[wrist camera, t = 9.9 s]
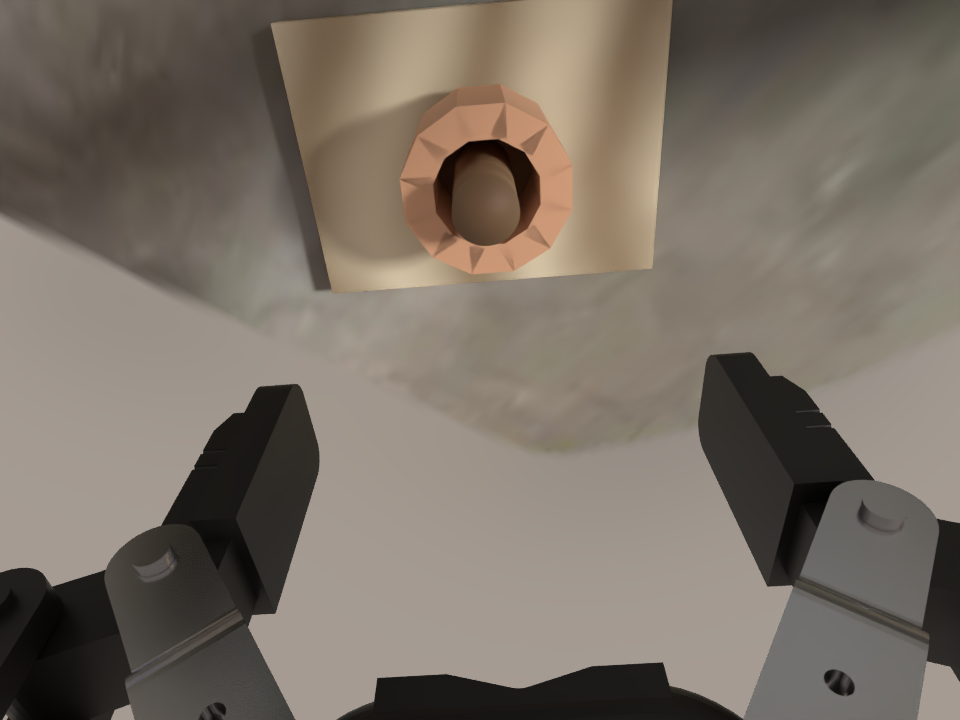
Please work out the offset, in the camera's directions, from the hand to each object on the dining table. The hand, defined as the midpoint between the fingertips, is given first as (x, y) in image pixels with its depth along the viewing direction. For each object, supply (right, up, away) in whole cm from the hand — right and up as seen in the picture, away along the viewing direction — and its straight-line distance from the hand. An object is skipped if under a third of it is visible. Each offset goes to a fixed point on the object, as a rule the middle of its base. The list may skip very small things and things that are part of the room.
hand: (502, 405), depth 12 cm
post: (0, +10, +15) cm, 18 cm away
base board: (0, +11, +16) cm, 19 cm away
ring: (0, +9, +14) cm, 17 cm away
